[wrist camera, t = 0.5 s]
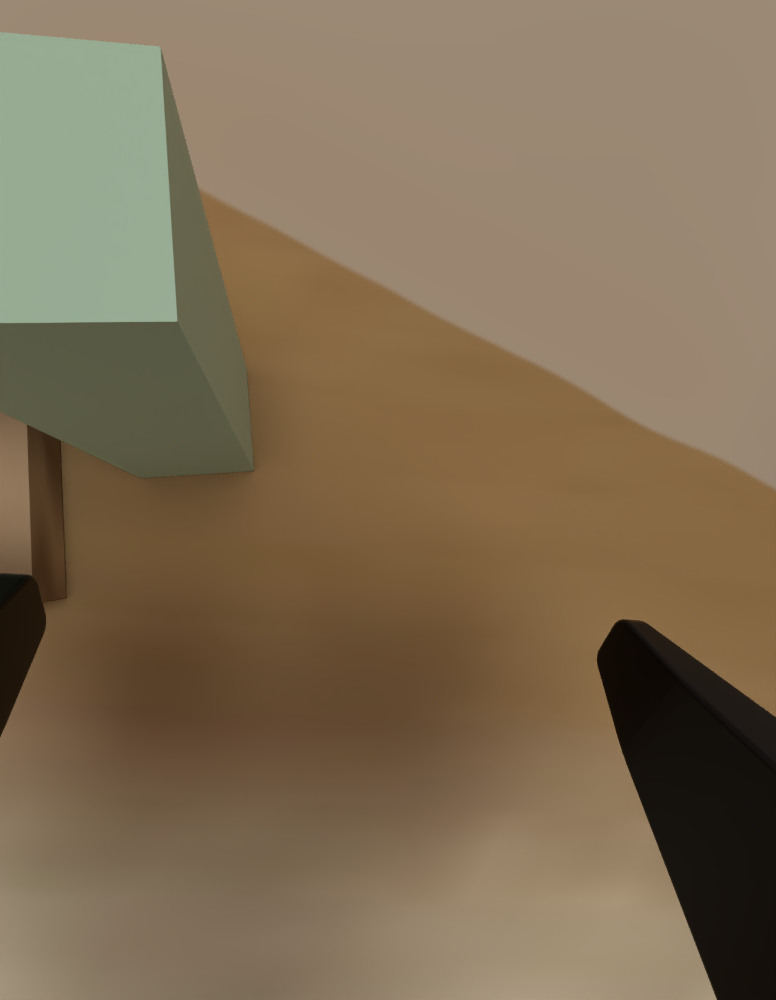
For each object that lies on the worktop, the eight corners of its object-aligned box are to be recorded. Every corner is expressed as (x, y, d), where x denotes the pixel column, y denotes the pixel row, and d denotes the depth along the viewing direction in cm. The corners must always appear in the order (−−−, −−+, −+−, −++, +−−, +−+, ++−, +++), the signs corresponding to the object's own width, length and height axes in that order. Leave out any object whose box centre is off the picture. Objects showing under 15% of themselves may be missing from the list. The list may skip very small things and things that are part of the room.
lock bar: (254, 470, 21) (177, 321, 7) (140, 478, 20) (-183, 324, 7) (246, 368, 22) (160, 46, 8) (134, 371, 21) (-182, 15, 7)
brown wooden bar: (66, 597, 19) (33, 604, 17) (23, 602, 19) (-18, 609, 17) (52, 255, 20) (19, 215, 18) (11, 255, 20) (-27, 214, 18)
